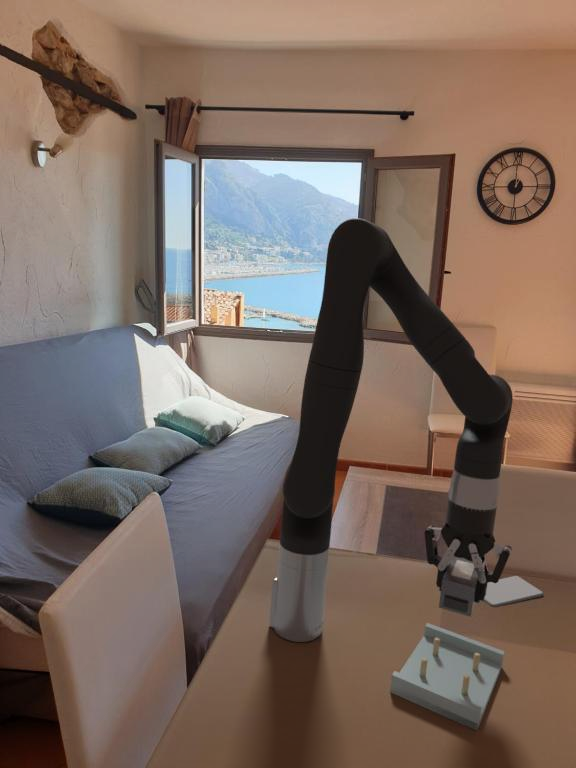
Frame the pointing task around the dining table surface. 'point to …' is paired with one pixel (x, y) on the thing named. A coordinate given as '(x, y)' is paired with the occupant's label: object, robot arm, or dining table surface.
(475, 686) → the tray
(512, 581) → the smartphone
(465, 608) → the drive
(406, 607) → the dining table surface
